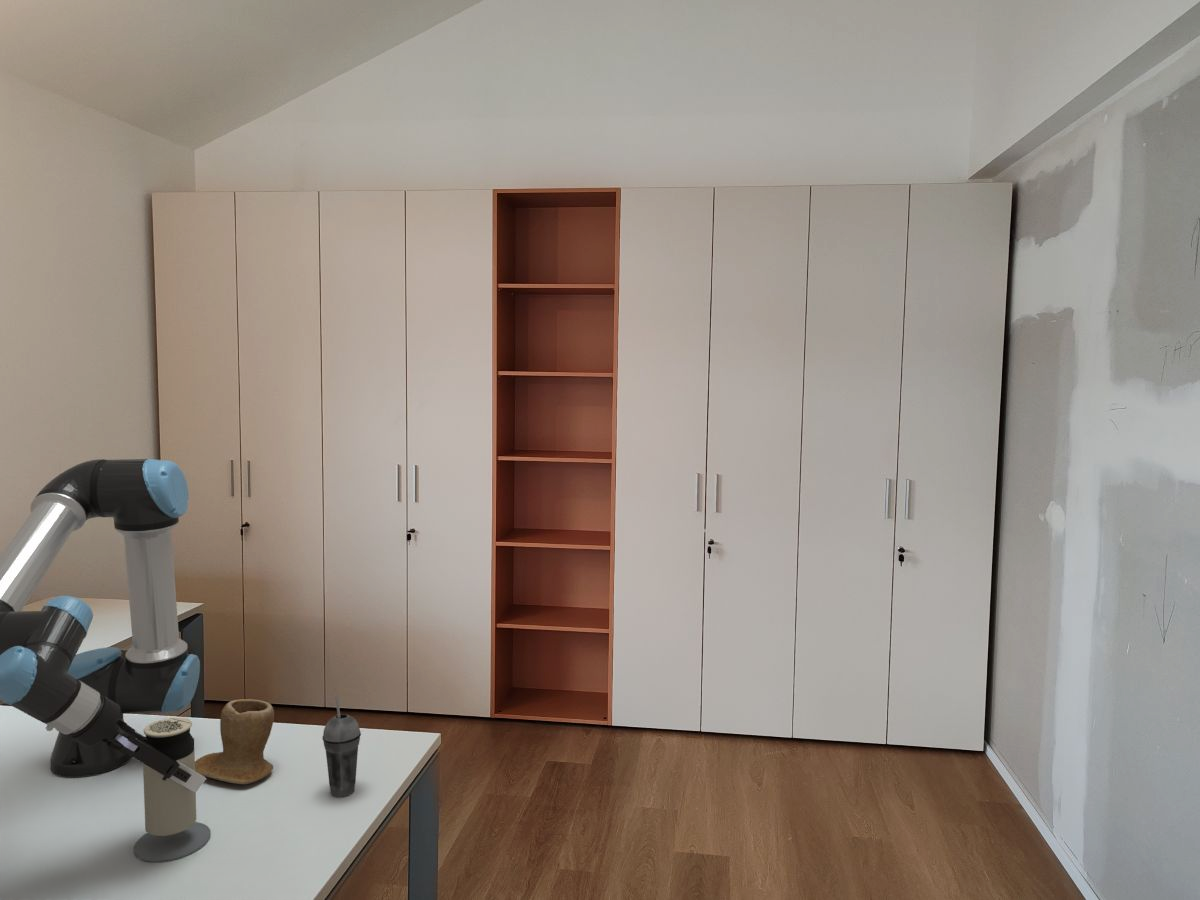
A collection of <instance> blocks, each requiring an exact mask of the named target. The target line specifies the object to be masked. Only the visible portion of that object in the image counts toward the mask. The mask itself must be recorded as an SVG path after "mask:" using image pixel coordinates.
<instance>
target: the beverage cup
mask: <svg viewBox="0 0 1200 900" xmlns="http://www.w3.org/2000/svg"><path fill="white" fill-rule="evenodd" d="M335 703H336V713H337V714H336V715H335V716H333V717H331V718H330V719H329V720H328V722H327V723H326V724H325V726H324V729H323V735H322V737H321V738H322V741H323V747H324V750H325V755H326V765H327V766H326V767H327V774H328V784H329V791H330V796H332V797H334V798H345V797H344V796H346V797H349V796H351V795H353V794H354V793H353V792H355V787H356V780H357V778H356V777H357V766H358V755H359V753H358V751H359V745H360V740H361V735H362V733H361V728H360V725H359V723H358V721H357V719H356V718H354V716H351V715H349V714H346V713H341V711H340V709H341V708H340V701H339V695H335ZM350 794H351V795H350ZM348 795H349V796H348Z"/></svg>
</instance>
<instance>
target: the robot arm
mask: <svg viewBox="0 0 1200 900" xmlns="http://www.w3.org/2000/svg"><path fill="white" fill-rule="evenodd" d="M188 501H189V488H188V483H187V480H186V476H185V475H184V472H183V470H182V469H181V468H180V466H179V465H178V464H177V463H176V462H174V461H171V460H166V459H165V460H162V459H153V458H139V459H138V458H136V459H132V458H131V459H129V458H128V459H124V458H123V459H105V458H103V459H102V458H101V459H100V458H99V459H90V460H87V461H83V462H81V463H79V464H75V465H74V466H71V467H69V468H68V469H66V470H64V471H63V472H61V473H60V474H58V475H57V476H55V477H54V478H52V479H51V480H50V481H49V482H47V484H46V485H44V486H43V488H41V490H39V492H38V493H37V494H36V496H35V497H34V499H33V500H32V502H31V504H30V508H29V509H30V514H29V516H28V517H27V518H26V520H25V522H24V523H23V524H22V525H21V527H20V528H19V529H18V531H17V533H16V534H15V535H14V537H13V538H12V539H11V541H10V543H9V544H8V545H7V546H6V548H4V549H5V550H4V551H3V552H2V553H1V555H0V701H1V702H3V703H4V704H6V705H9V706H11V707H13V708H15V709H17V710H19V711H21V712H22V713H24V714H26V715H27V716H30V717H31V718H33V719H35V720H37V721H40V722H41V723H43V724H45V725H46V726H45V729H46V731H47V732H51V731H52V730H54V729H55V730H56V731H57V732H58V734H57V737H56V739H55V743H54V747H53V748H52V749H53V750H52V752H51V755H50V759H49V761H50V772H51V773H52V774H53V775H55V776H58V777H63V778H82V777H83V778H84V777H89V776H96V775H99V774H103V773H106V772H109V771H112V770H114V769H118V768H119V767H121V766H123V765H125V764H126V763H128V762H130V760H131V759H133V758H134V759H135V760H137V761H138V762H140V763H141V764H142V765H143V764H145V765H147V766H149V767H150V768H152V769H154V770H155V771H157V772H159V773H160V774H162V775H164V777H163V778H162V780H164V781H166V779H167V778H168V779H172V780H174V781H175V782H177V783H179V784H181V785H182V786H184V787H186V788H188V789H189V790H191V791H193V792H195V793H197V792H198V791H199V789H200V788H201V786H202V785H203V784H204V783H205V781H206V780H207V778H206V776H203V775H200V774H199V773H197V772H195V771H194V770H192V769H190V768H189V767H187V766H185V765H183V764H182V763H180V762H178V761H177V760H173V759H171V758H169V757H168V756H166V755H165V754H163V753H161V752H160V751H158V750H157V749H155V748H154V747H152V746H150V745H149V744H147V743H146V740H147V739H146V736H144V735H142V734H140V733H139V732H137V731H136V729H134V728H133V727H132V726H130V725H129V724H128V722H127V723H126V722H125V719H124V714H151V713H152V714H155V713H156V714H157V713H161V714H166V713H169V712H171V713H172V712H181V711H183V710H185V709H186V708H187V707H188V706H189V705H190V703H191V702H192V700H193V698H194V696H195V693H196V690H197V687H198V683H199V679H200V678H199V677H200V671H201V661H200V659H199V656H198V655H196V654H193V653H191V654H189V648H188V643H187V642H186V641H185V640H183V639H182V638H180V634H179V632H180V631H179V621H178V619H179V617H178V608H177V607H178V605H177V603H178V602H177V593H176V592H177V590H176V579H175V578H176V577H175V564H174V551H173V550H174V548H173V537H172V535H173V534H172V531H173V530H174V529H175V527H176V526H177V525H179V523H180V519H179V518H180V517H183V516H184V515H185V514H186V511H187V510H188V507H189V503H188ZM95 518H113V525H114V527H113V528H114V530H115V531H116V532H118V533H120V534H121V535H122V536H123V541H124V552H125V565H126V566H125V567H126V576H127V577H126V578H127V588H128V589H127V591H128V599H129V600H128V601H129V602H128V603H129V613H130V625H131V638H132V645H131V647H130V648H129V649H127V650H126V652H125V656H122V655H123V652H122V650H121V648H119V647H114V646H108V647H101V648H94V649H90V650H87V651H82V652H80V653H78V652H79V649H80V647H81V645H82V643H83V641H84V640H85V639H86V637H87V636H88V630H89V629H90V626H91V624H92V621H93V618H94V613H93V610H92V608H91V606H90V605H89V604H88V603H87V602H86V601H84V600H83V599H80V598H78V597H75V596H71V595H59V596H56V597H54V598H50V599H49V600H47V602H46V603H45V605H43V607H42V608H41V610H23V609H24V607H25V605H26V604H27V603H28V601H29V600H30V598H31V596H32V595H33V594H34V591H35V590H36V589H37V587H38V586H39V583H40V582H41V580H42V579H43V578H44V576H45V575H46V574H47V571H48V570H49V568H50V567H51V565H52V563H53V562H54V561H55V559H56V557H57V556H58V554H59V553H60V552H61V550H62V548H63V547H64V545H65V543H66V542H67V540H68V539H69V537H70V536H71V534H72V532H75V531H78V530H79V529H81V528H82V527H83V526H84V524H85V523H86V521H88V520H90V519H95Z"/></svg>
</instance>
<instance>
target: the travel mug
mask: <svg viewBox="0 0 1200 900" xmlns="http://www.w3.org/2000/svg"><path fill="white" fill-rule="evenodd" d="M192 726H193V721H192V720H191V719H189V718H185V717H169V718H168V717H167V718H163V719H158V720H156V721H154V722H151V723H149V724H148V725H146V726H145V727H144V728H143V734H144V735H145V737H146V739H147V740H146V743H147V744H149V745H150V746H152V747H154V748H155V749H157V750H158V751H160V752H161V753H163V754H165V755H166V756H168V757H169V758H171V759H173V760H177V761H178V762H180V763H182V764H183V765H185V766H187V767H189V768H190V769H192V770H194V771H195V761H196V757H195V738H194V737H193V735H192V734H191V727H192ZM142 766H143V767H142V771H143V773H142V775H143V797H144V798H143V799H144V801H143V802H144V804H143V805H144V827H145V829H144V830H145V832H146V833H149V834H151V835H156V836H168V835H173V834H176V833H179V832H182V831H184V830H186V829H187V828H189V827H191V826H192V825H193V824H194V823H195V822H197V796H196V795H197V794H196V793H197V792H196V793H195V792H193V791H191V790H189V789H188V788H186V787H184V786H182V785H181V784H179V783H177V782H175V781H174V780H172V779H168V778H167V779H166V781H164V780H162V778H163V777H164V775H162V774H160V773H159V772H157V771H155V770H154V769H152V768H150V767H149V766H147V765H145V764H143V763H142Z"/></svg>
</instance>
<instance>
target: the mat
mask: <svg viewBox="0 0 1200 900" xmlns="http://www.w3.org/2000/svg"><path fill="white" fill-rule="evenodd" d="M211 834H212V832H211V828H210V827H209V826H208V825H206V824H205V823H203V822H202V823H201V822H198V821H195V823H194V824H193V825H192V826H191V827H189V828H187V829H186V830H184V831H182V832H179V833H176V834H173V835H168V836H156V835H151V834H149V833H147V832H146V833H145V834H143V835H142V836H141V837H140V838H138V839H137V841H136V842H135V844H134V847H133V854H134V856H135V857H136V859H138V858H139V859H138V860H140V859H141V860H140V861H143V860H144V862H146V861H147V863H164V862H172V861H176V860H179V859H183V858H185V857H189V855H192V854H194V853H196V852H198V851H199V850H201V849H202V848H204V846H206V845H207V844H208V843H209V841H210V840H211Z"/></svg>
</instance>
